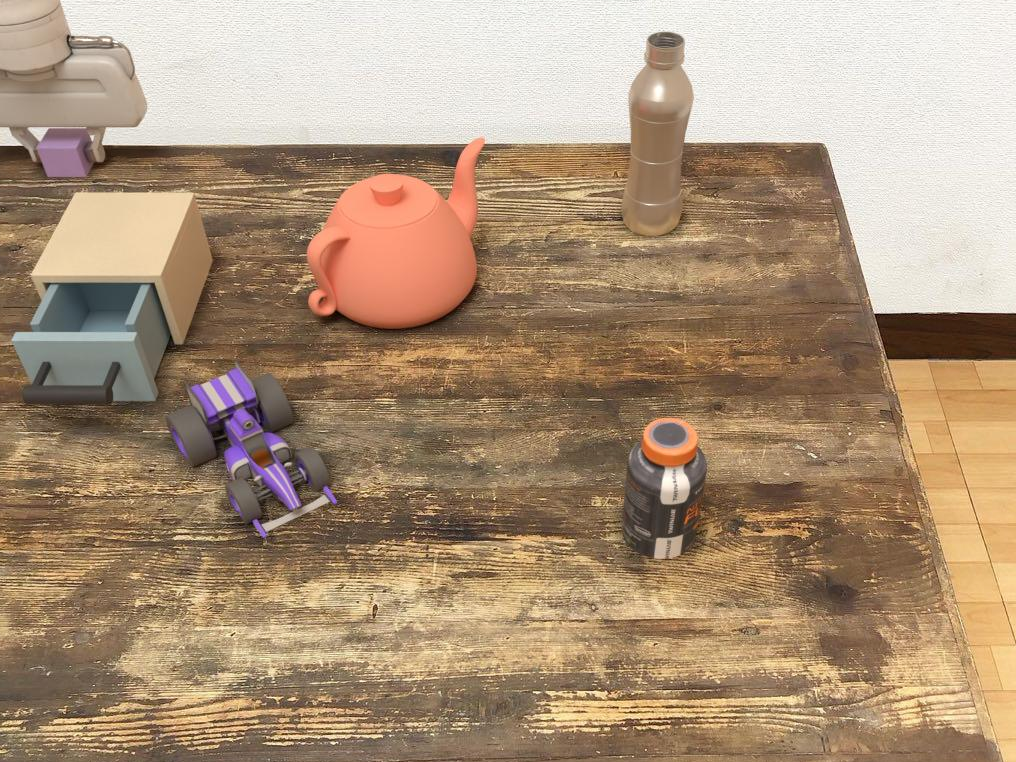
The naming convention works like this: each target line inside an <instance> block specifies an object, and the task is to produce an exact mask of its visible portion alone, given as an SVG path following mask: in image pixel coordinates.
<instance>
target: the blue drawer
mask: <svg viewBox="0 0 1016 762" xmlns="http://www.w3.org/2000/svg"><path fill="white" fill-rule="evenodd" d="M29 326H30V328H31V330H32V331H15V332H14V334H13V336H12V338H11V340H10V341H11V343H12V345H13V348H14V350H15V352H16V354H17V357H18V358H19V360H20V363H21V365H22V367H23V369H24V371H25V374H26V376H27V378H28V379H29V381H30V384H31V385H30V384H26V385H24V386H23V388H22V392H21V395H22V396H21V397H22V400H23V403H24V404H26V405H28V406H29V405H30V406H31V405H32V406H33V405H39V406H43V405H48V406H51V405H52V406H53V405H55V406H56V405H59V406H60V405H62V406H63V405H66V406H68V405H69V406H71V405H75V406H76V405H77V406H78V405H79V406H93V405H94V406H96V405H97V406H100V405H101V406H110V405H112V404H113V402H156V401H157V398H158V396H159V390H158V387H157V384H156V381H155V378H156V376H157V373H158V370H159V367H160V365H161V363H162V359H163V356H164V353H165V352H166V349H167V346H168V343H169V341H170V338H171V336H172V334H171V331H170V328H169V325H168V322H167V319H166V316H165V313H164V310H163V307H162V304H161V301H160V298H159V295H158V292H157V289H156V286H155V283H51V284H50V286H49V288H48V290H47V292H46V294H45V296H44V298H43V299H42V300H41V301H40V303H39V305H38V307H37V309H36V311H35V313H34V315H33V316H32V319H31V321H30V322H29Z"/></svg>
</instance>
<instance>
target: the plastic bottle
mask: <svg viewBox="0 0 1016 762" xmlns="http://www.w3.org/2000/svg"><path fill="white" fill-rule="evenodd" d="M685 47H686V41H685V38H684V36H683V35H681V34H680V33H677V32H673V31H658V32H654V33H651V34H650V35H648V36H647V38H646V43H645V51H644V55H643V61H644V63H645V65H644V67H643V68H641V70H640V71H639V73H638V74H637V75H636V76H635V78H634V79H633V81H632V82H631V84H630V87H629V91H628V94H627V97H628V98H627V99H628V102H627V104H628V117H629V127H630V129H629V130H630V151H629V153H630V154H629V155H630V156H629V164H628V172H627V179H626V184H625V187H624V191H623V193H622V199H621V203H620V204H621V205H620V208H621V217H622V218H621V219H622V222H623V223H624V225H625V226H626V228H627V229H628V230H629V231H631V232H633V233H635V234H637V235H640V236H644V237H660V236H664V235H667V234H670V232H672V231H673V230H675V228H677V226H678V225H679V223H680V220H681V216H682V213H683V209H684V206H683V205H684V202H683V201H684V200H683V190H682V159H683V152H684V151H683V149H684V147H685V140H686V134H687V129H688V125H689V121H690V117H691V113H692V109H693V104H694V98H695V95H694V90H693V84H692V83H691V80H690V78H689V76H688V74H687V73H686V71H685V69H684V68H683V66H682V65H683V64H684V62H685V56H686V55H685Z"/></svg>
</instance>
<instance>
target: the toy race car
mask: <svg viewBox="0 0 1016 762" xmlns="http://www.w3.org/2000/svg"><path fill="white" fill-rule="evenodd" d="M234 365H235V368H234V369H232V370H229V371H227V372H226V373H225V374H223V375H220V376H218V377H216V378H213V379H211V380H209V381H205V382H204V383H201V384H199V383H197V384H194V385H193V386H190V385H189V384H188V383H187V381H186V380H184V381H183V385H184V389H185V391H186V395H187V397H188V401H189V403H190V404H189V405H187V406H185V407H182V408H180V409H177V410H176V411H172V412H170V413H168V414H166V415H165V422H166V426H167V429H168V432H169V434H170V436H171V438H172V441H173V443H174V445H175V447H176V448H177V449H178V450H179V452H181V453H182V454H183V456H184V457H185V460H186V462H187V464H188V465H189V466H190V467H191V468H195V467H196V466H199V465H201V464H204V463H206V462H208V461H211V460H213V459H215V458H217V456H218V453H217V448H216V444H215V441H217V440H220V439H221V440H222V439H224V438H225V439H227V441H228V442H229V444H230V447H228V448H227V449H226V450H225V452H224V453H223V454H224V457H223V458H224V461H225V465H226V468H227V471H228V474H229V476H230V478H231V480H232V481H230V482H227V483H225V485H224V487H225V488H224V489H225V493H226V496H227V499H228V501H229V503H230V505H231V507H233V509H234V510H235V511H236V512H239V516H240V517H241V520H242V522H243V524H244V525H246V526H247V525H249V524H252V525H253V526H254V528H255V529H256V531H258V533H259V535H260V536H261V537H262V538H263V539H266V538H268V534H267V532H269V531H272V530H274V529H275V528H278V527H280V526H282V525H285V524H286V523H289V522H291V521H293V520H295V519H297V518H299V517H301V516H303V515H305V514H307V513H310V512H311V511H314V510H316V509H318V508H320V507H322V506H324V505H326V504H329V503H332V504H333V505H337V504H339V503H338V500H337V499H336V497H335V496H334V494H333V493H332V492H331V490H330V489H329V487H331V477H330V474H329V471H328V468H327V466H326V464H325V462H324V460H323V458H322V457H321V455H320V453H319V452H318V451H317V450H316V449H315V448H314V447H313V446H307V447H304V448H302V449H301V450H298V451H296V452H295V453H294V454H292V450H291V447H290V446H289V444H288V443H287V441H285V440H284V439H283V437H281V436H279V435H277V434H275V433H274V432H277V431H279V430H282V429H284V428H286V427H288V426H290V425H292V424H293V423H294V414H293V410H292V407H291V404H290V401H289V399H288V397H287V394H286V392H285V390H284V388H283V387H282V385H281V383H280V382H279V381H278V380H277V378H276V377H275V376H274V375H273V374H271V373H270V372H267V373H264V374H261V375H259V376H257V377H255V378H251V376H250V375H249V374H248V373H247V371H246V370H245V369H244V368H243V366H242V365H241V364H240V363H239V361H238V360H237V359H236V360H234ZM260 423H261V424H262V426H263V428H264V429H265V431H266V432H264V430H263V428H262V426H261V425H260ZM217 431H222V432H223V435H220V436H216V437H213V434H212V433H215V432H217ZM293 459H294V464H295V467H296V471H293V472H290V473H288V471H287V469H288V468H289V467H291V466H293V463H292V462H288V461H292V460H293ZM283 464H284V465H283ZM252 478H253V482H255V483H257V484H258V486H259V487H258V488H256V489H255V490H253V489H252V487H251V485H250V484H249V482H248V481H247V480H249V479H252ZM293 481H295V482H293ZM302 481H304V482H306V481H307V482H308V486H309V487H310V489H311V491H312V492H314V493H318V492H319V491H320V492H321V491H322V492H323V495H321V496H320V497H318V498H317V499H315V500H313V501H312V502H309V503H308V504H306V505H304V506H303V505H302V502H301V500H300V498H299V496H298V494H297V491H296V489H295V487H294V485H295V486H296V484H298V483H300V482H302ZM262 489H264V490H262ZM260 490H261V491H260ZM267 493H268V494H267ZM266 494H267V495H266ZM269 497H272V498H274V499H275V500H276V501H277V502H278V503H283V504H284V505H285V507H286V508H287V509H288V510H289V511H290V512H289V513H287V514H285V515H282V516H281V517H278V518H276V519H274V520H271V521H268V522H265V523H262V524H261V523H260V522H259V520H261V519H262V518H263V511H262V507H261V504H260V502H259V501H261V500H264V499H266V498H269Z"/></svg>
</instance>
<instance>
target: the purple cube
mask: <svg viewBox="0 0 1016 762" xmlns="http://www.w3.org/2000/svg"><path fill="white" fill-rule="evenodd" d="M40 141H41V142H40V143H39V145H38V146H37V151H38V153H39V156H40V159H41V161H42V162H41V164H42V166H43V168H44V169H43V170H44V172H45V175H46V177H47V178H86V177H88V175H89V173H90V171H91V169H92V168H93V165H94V164H95V162H89V161H88V159H87V158H88V156H87V155H86V154H85V151H84V149H85V147H86V146H87V143H88V141H93V139H92V137H91V135H89V134H88V131H87V128H86V127H48V129H47V130H46V132H45V134H44V135H43V137H42V138H41V140H40Z"/></svg>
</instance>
